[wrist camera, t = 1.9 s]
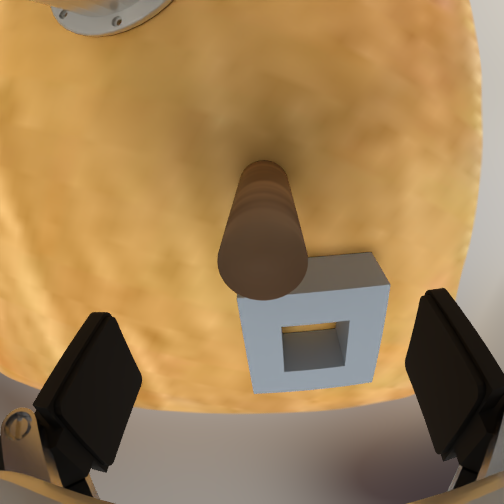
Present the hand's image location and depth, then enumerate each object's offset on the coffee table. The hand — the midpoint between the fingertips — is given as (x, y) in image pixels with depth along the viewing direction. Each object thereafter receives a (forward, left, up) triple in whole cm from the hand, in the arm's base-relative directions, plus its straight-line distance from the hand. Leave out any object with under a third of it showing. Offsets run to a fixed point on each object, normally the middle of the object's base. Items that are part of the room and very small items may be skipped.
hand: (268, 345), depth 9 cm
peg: (0, 0, -16) cm, 16 cm away
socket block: (+12, +3, -16) cm, 20 cm away
